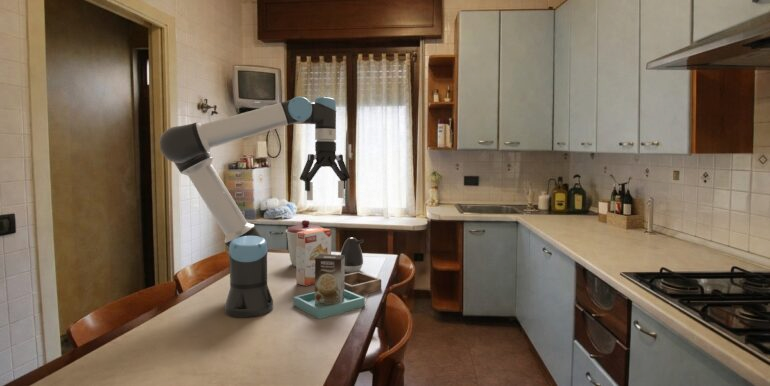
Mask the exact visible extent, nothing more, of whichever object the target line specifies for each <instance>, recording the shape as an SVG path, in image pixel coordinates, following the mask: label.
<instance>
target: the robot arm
mask: <svg viewBox="0 0 770 386" xmlns="http://www.w3.org/2000/svg"><path fill="white" fill-rule="evenodd" d="M336 107H337V106H336V99H334V98H332V97H327V96H326V97H325V96H320V97H316V98H315V99H314V102H311V101H310V100H309V99H308V98H306V97H304V96H294V97H293V98H292V99H289V100H286V101H282V102H278V103H275V104H270V105H267V106H264V107H260V108H257V109H253V110H250V111H245V112H241V113H238V114H235V115H231V116H227V117H224V118H220V119H217V120H214V121H209V122H206V123H200V122H192V123H189V124H184V125H179V126H178V125H177V126H172V127H170V128H168V129H166V130H165V131H163V133H162V134H161V135H160V138H159V140H158V141H159V142H158V146H159V150H160V152H161V154H162V156H163V157H164V158H166V160H168V161H170V162H173V163H174V165H175V167H176V168H177V170H178V171H179V173H180V175H185V176H187V177H188V178H189V179H190V181H191V182H192V184H193V186H194V187H195V190H196V191H197V192H198V194H199V195H200V197H201V199H202V200H203V201H204V203H205V205H206V207H207V208H208V209H209V211H210V213H211V214H212V216H213V218H214V220H215V221H216V222H217V224H218V226H219V227H220V229H221V231H222V233H223V234H224V235H225V238H224V244H225V245H226V247H227V249H228V255H229V285H230V287H229V290H228V295H227V297H226V300H225V304H224V312H225V314H226V315H227V316H230V317H234V318H252V317H258V316H263V315H265V314H267V313H270V312H271V311H272V310H273V309H274V299H273V297H272V293H271V292H270V289H269V286H268V253H269V246H268V242H267V239H265V238H264V237H263V235H261V234H260V231H258V229H257V227H256V225H255V224H254V223H249V222H248V221H247V219H246V218H245V215H244V214H243V212H242V211H241V210H240V208H239V206H238V204H237V202H236V201H235V200H234V198H233V196H232V195H231V193H230V191H229V190H228V188H227V186H226V184H225V183H224V181H223V180H222V179H221V177H220V175H219V173H218V171H217V170H216V168H215V167H214V165H213V159H214V156H213V155H212V153H211V152H210V150H211V149H212V148H214V147H215V148H216V147H218V146H222V145H224V144H228V143H231V142H234V141H238V140H242V139H245V138H248V137H252V136H255V135H258V134H259V135H260V134H263V133H265V132H270V131H272V130H276V129H279V128H282V127H286V126H290V125H295V124H297V125H314V136H315V137H314V140H315V142H314V144H315V145H314V146H315V149H314V150H315V154H314V153H309V154H307V159H306V162H305V165H304V167H303V169H302V172H301V173H300V177H299V180H300V181H303V182H304V191H306V201H313V200H314V198H313V197H314V195H313V194H314V190H313V189H314V188H313V187H314V186H313V184H314V181H313V182H312V180H313V178H314V177H315V176H316V174H317V173H318V171H319V170H320V169H321V168H322V167H324V168H327V167H329V168H331V170H332V171H333V172H334V174H335V175H336V176H337V178H338V179H339V180H337V198H338V199H345V190H346V181H348V180H349V179H350V178H351V176H350V173H349V170H348V168H347V166H346V164H345V161H344V155H343V154H336V152H337V142H336V140H337V108H336ZM335 160H336V161H335ZM314 161H316V162H315V163H314Z"/></svg>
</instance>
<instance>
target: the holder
mask: <svg viewBox="0 0 770 386" xmlns="http://www.w3.org/2000/svg"><path fill="white" fill-rule="evenodd" d="M344 289H345V290H347V291H350V292H352V293H355V294H357V295H360V296H363V295H366V294H370V293H374V292H378V291H381V290H382V278H378V277H375V276H372V275H369V274H367V273H363V272H361V271H358V272H355V273H347V274H344Z"/></svg>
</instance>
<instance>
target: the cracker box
mask: <svg viewBox="0 0 770 386" xmlns="http://www.w3.org/2000/svg"><path fill="white" fill-rule="evenodd" d="M319 254H332V229H329V228H323V227H322V228H320V229H314V230H307V231H301V232H297V233H296V266H295V267H296V269H295V270H296V271H295V273H296V275H295V282H296V284H297V285H300V286H304V287H308V286H310V285H315V258H316V257H317V256H318V255H319Z"/></svg>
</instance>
